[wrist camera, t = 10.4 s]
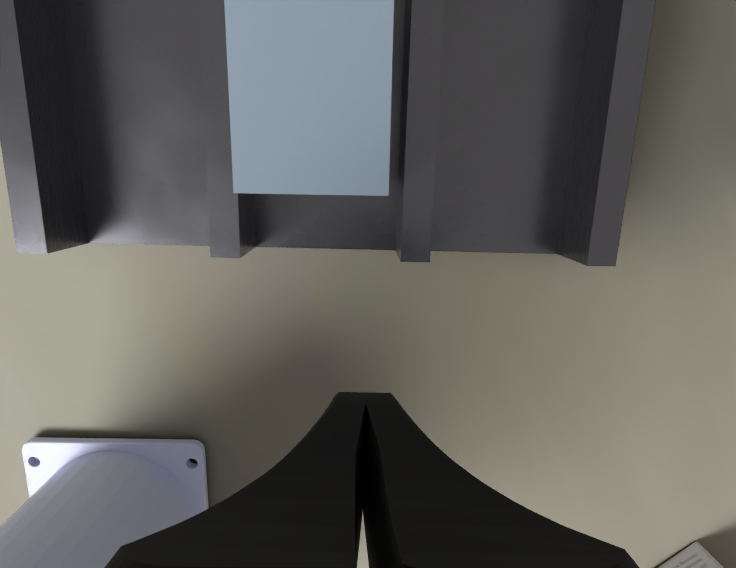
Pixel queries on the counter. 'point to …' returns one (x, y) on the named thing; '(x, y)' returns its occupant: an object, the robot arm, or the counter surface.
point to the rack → (325, 212)
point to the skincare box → (692, 558)
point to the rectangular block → (310, 95)
